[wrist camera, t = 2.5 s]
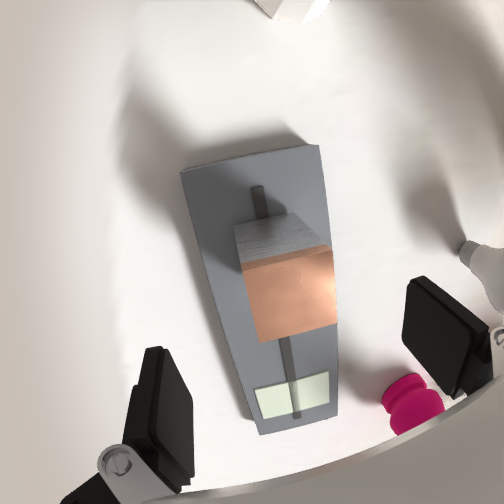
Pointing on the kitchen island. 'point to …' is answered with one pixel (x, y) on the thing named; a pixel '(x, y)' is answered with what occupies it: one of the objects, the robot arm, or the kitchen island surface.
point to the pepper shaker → (293, 9)
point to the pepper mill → (411, 403)
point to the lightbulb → (486, 270)
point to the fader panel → (234, 289)
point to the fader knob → (286, 276)
